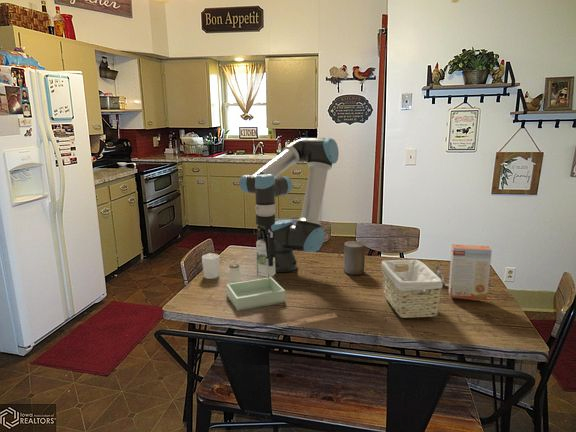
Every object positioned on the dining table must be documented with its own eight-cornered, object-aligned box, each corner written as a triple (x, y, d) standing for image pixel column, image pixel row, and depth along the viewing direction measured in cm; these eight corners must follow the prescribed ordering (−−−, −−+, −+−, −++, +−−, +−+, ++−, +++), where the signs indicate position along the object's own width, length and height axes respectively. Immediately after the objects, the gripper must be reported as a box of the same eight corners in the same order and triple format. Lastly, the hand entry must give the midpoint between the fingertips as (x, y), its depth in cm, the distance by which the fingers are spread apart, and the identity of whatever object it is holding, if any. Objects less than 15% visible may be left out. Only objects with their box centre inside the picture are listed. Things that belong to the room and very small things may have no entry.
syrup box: (275, 273, 167) (275, 239, 164) (269, 278, 162) (268, 243, 158) (263, 271, 169) (262, 237, 166) (256, 276, 164) (255, 241, 161)
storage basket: (441, 318, 148) (444, 280, 145) (397, 320, 147) (399, 281, 144) (417, 292, 171) (419, 258, 168) (378, 293, 170) (380, 259, 167)
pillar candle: (367, 270, 197) (368, 240, 194) (359, 276, 189) (360, 245, 186) (348, 266, 202) (349, 237, 199) (340, 272, 194) (340, 242, 191)
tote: (271, 288, 176) (271, 277, 175) (285, 302, 162) (285, 290, 161) (226, 295, 169) (226, 284, 168) (237, 311, 155) (236, 298, 154)
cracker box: (484, 294, 168) (489, 245, 164) (487, 300, 163) (492, 250, 158) (447, 291, 172) (451, 243, 167) (449, 297, 166) (453, 247, 161)
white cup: (216, 280, 186) (215, 259, 183) (200, 279, 187) (199, 258, 185) (222, 274, 193) (221, 254, 191) (206, 273, 195) (205, 253, 192)
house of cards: (456, 284, 180) (458, 267, 178) (440, 287, 177) (441, 270, 175) (442, 277, 188) (444, 261, 186) (427, 279, 185) (428, 263, 184)
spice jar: (238, 283, 182) (238, 262, 180) (242, 287, 178) (241, 266, 176) (227, 284, 180) (227, 264, 178) (230, 289, 176) (229, 267, 174)
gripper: (248, 210, 168) (249, 263, 173) (265, 220, 149) (266, 279, 154) (265, 208, 171) (266, 261, 176) (284, 218, 152) (284, 277, 157)
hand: (266, 269), depth 165 cm, fingers closed on syrup box, 8 cm apart
